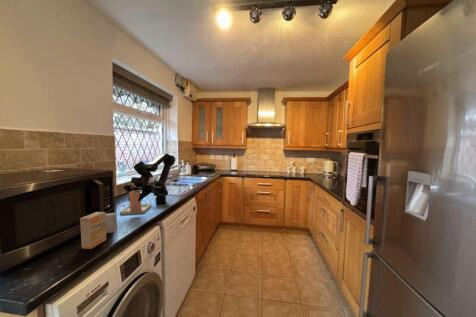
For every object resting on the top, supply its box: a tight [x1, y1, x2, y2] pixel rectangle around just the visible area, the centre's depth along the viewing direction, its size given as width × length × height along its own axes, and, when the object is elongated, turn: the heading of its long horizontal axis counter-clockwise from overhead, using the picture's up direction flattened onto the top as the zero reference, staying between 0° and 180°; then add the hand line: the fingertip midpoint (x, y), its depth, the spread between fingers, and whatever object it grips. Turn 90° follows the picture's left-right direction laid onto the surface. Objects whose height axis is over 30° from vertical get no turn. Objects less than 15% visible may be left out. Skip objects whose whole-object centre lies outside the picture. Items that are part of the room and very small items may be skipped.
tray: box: [119, 203, 152, 216], centre depth 132 cm, size 15×15×2 cm
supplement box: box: [79, 211, 107, 250], centre depth 86 cm, size 8×5×13 cm, turn 172°
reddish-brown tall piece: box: [128, 190, 142, 213], centre depth 119 cm, size 6×6×12 cm
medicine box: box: [105, 212, 118, 234], centre depth 99 cm, size 8×4×9 cm, turn 108°
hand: (133, 201), depth 118 cm, fingers closed on reddish-brown tall piece, 6 cm apart
